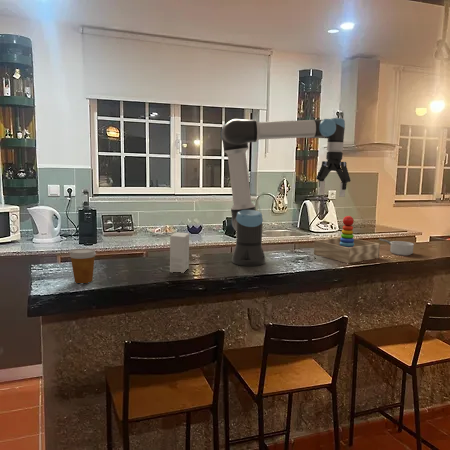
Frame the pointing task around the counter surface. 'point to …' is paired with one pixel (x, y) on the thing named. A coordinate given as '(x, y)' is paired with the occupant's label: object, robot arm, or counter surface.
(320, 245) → the open-top box
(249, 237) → the robot arm
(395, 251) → the saucepan
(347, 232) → the stacking toy
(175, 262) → the skincare box
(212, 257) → the counter surface
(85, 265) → the disposable coffee cup
